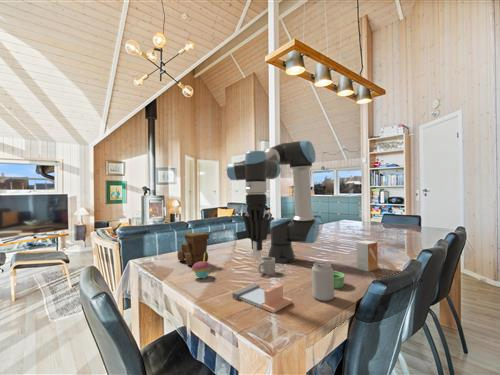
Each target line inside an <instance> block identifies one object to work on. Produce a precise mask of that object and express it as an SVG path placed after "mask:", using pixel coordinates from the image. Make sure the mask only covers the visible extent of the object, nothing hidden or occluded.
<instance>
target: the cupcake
mask: <svg viewBox="0 0 500 375" xmlns="http://www.w3.org/2000/svg"><path fill="white" fill-rule="evenodd" d="M211 269H212V264H210V263H209V262H208V261H207V262H206V261H205V253H204V258H203V261H200V262H196V263H193V264H192V265H191V270H192V272H194V273H195V276H197V277H199V278H204V279H206V278H205V277H207V278H208V275H209V273H210V270H211ZM197 277H196V278H197Z"/></svg>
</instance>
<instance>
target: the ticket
mask: <svg viewBox="0 0 500 375" xmlns="http://www.w3.org/2000/svg"><path fill="white" fill-rule="evenodd" d="M265 290H266V289H262V288H261V286H260V284H257V283H253V284H251V285H248V286H246V287H243V288H240V289H238V290H236V291H234V292H232V299H233V298H235V299H234V300H236V299H237V300H236V301H238V299H239V300H240V299H241V301H242V300H243V302H245V301H246V302H245V303H247V302H248V304H249V303H251V304H250V305H252V304H253V306H254V305H256V306H255V307H257V306H258V307H257V308H259V307H261V308H260V309H263V308H262V305H263V304H265V297H264V291H265Z"/></svg>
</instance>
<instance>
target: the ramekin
mask: <svg viewBox="0 0 500 375" xmlns="http://www.w3.org/2000/svg"><path fill="white" fill-rule="evenodd" d="M333 276H334V289H342V288H343V287H344V283H345V276H346V275H345V274H344V273H343V272H340V271H336V270H333Z"/></svg>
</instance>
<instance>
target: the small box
mask: <svg viewBox="0 0 500 375" xmlns="http://www.w3.org/2000/svg"><path fill="white" fill-rule="evenodd" d="M355 244H356V246H355V249H356V251H355V253H356V270H361V271H364V272H366V273H367V272H368V273H369V272H372V271H375V270H378V259H379V258H378V242H377V241H374V240H373V241H372V240H361V241H356V242H355Z"/></svg>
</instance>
